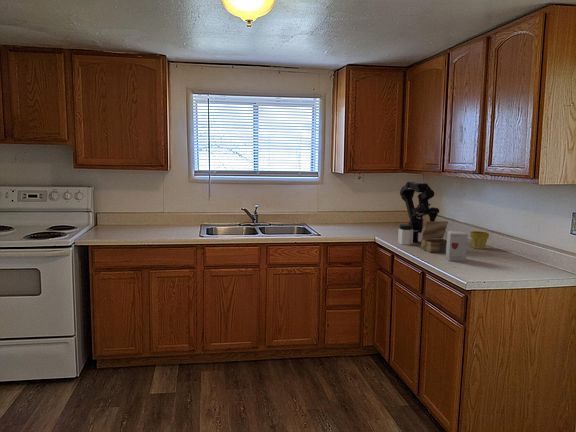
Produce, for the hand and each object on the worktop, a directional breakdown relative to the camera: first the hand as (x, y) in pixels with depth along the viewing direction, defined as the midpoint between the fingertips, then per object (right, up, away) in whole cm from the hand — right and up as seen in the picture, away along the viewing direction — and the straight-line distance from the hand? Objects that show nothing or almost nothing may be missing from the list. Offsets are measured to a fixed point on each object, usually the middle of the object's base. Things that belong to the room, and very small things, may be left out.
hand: (426, 227), depth 294 cm
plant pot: (+32, -13, +2) cm, 35 cm away
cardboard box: (+4, -13, -8) cm, 16 cm away
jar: (-10, -11, +13) cm, 20 cm away
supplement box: (+7, -17, -32) cm, 37 cm away
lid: (+3, -2, -6) cm, 7 cm away
